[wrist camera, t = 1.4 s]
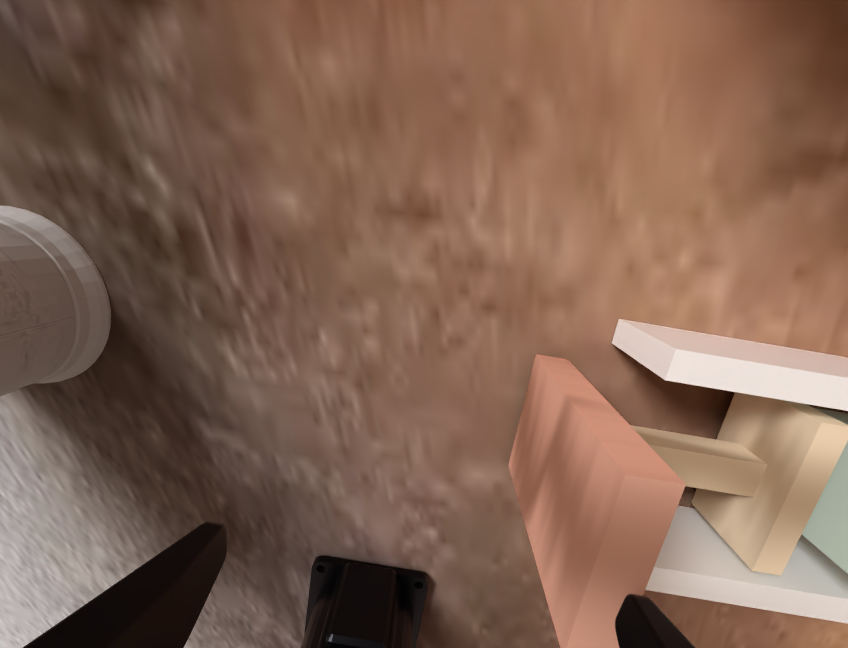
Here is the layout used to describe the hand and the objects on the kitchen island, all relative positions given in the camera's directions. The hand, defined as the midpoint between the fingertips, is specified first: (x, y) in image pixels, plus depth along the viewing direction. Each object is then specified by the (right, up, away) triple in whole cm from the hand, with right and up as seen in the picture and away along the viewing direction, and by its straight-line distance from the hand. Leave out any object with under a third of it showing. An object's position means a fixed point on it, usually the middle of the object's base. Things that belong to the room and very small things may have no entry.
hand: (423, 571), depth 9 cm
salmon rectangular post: (+10, 0, +10) cm, 14 cm away
